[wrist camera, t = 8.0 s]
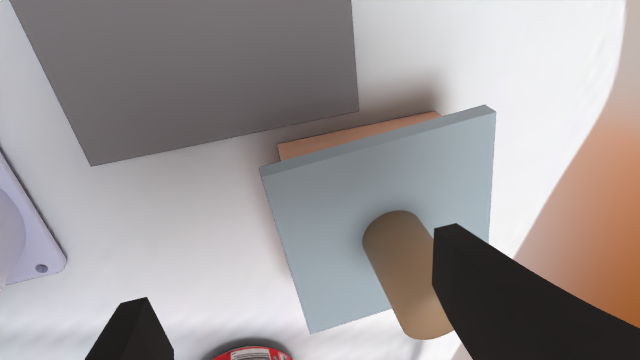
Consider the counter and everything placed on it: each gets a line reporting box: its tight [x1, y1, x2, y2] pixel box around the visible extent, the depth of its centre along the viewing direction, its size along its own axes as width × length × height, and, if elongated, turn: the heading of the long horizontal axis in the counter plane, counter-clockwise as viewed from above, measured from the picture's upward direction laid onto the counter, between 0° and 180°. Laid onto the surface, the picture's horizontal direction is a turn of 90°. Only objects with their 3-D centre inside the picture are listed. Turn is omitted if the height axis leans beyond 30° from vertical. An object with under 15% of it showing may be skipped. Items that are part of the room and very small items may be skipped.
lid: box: [259, 105, 496, 340], centre depth 17 cm, size 10×10×5 cm
